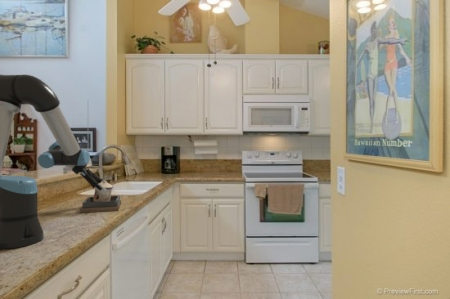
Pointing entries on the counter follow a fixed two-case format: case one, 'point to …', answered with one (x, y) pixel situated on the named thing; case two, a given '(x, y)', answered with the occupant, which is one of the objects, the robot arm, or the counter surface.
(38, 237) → the robot arm
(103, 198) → the teacup with lid
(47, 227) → the counter surface
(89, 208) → the collar stand
